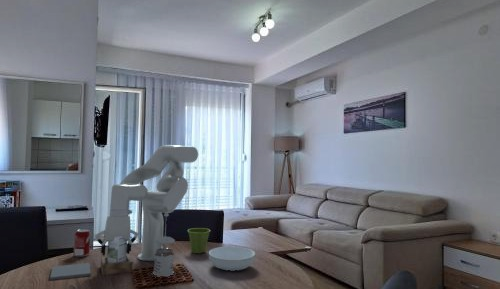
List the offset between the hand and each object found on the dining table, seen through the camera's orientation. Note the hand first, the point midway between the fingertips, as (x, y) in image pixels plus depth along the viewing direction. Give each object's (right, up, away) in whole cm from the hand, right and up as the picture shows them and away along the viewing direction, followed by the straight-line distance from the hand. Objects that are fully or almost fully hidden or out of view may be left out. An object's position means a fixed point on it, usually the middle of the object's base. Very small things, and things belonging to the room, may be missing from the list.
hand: (115, 253), depth 142 cm
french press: (+21, -7, -3) cm, 22 cm away
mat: (-16, -6, -6) cm, 18 cm away
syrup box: (0, -7, 0) cm, 7 cm away
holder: (0, -7, 0) cm, 6 cm away
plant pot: (+30, -10, +31) cm, 44 cm away
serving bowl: (+49, -9, +8) cm, 50 cm away
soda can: (-24, -7, +17) cm, 30 cm away
